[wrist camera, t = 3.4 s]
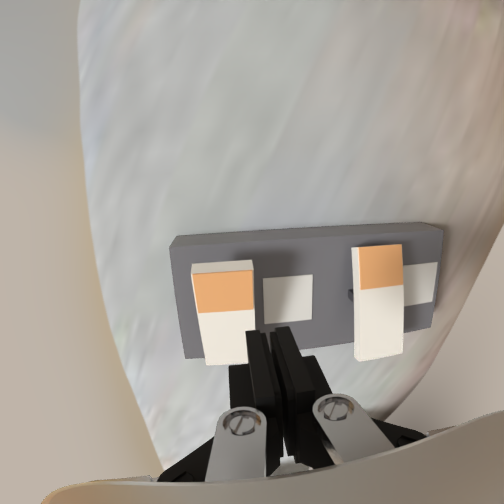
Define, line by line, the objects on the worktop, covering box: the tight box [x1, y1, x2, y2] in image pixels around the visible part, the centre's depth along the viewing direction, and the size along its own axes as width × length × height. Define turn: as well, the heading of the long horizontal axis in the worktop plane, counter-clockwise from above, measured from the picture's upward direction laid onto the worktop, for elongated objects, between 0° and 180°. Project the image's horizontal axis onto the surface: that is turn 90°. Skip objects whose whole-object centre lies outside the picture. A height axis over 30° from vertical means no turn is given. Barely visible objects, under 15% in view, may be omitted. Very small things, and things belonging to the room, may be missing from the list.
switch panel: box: [169, 222, 444, 359], centre depth 27 cm, size 10×24×6 cm, turn 93°
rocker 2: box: [351, 244, 404, 362], centre depth 24 cm, size 9×4×1 cm, turn 2°
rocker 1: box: [191, 260, 255, 365], centre depth 23 cm, size 9×4×1 cm, turn 3°
